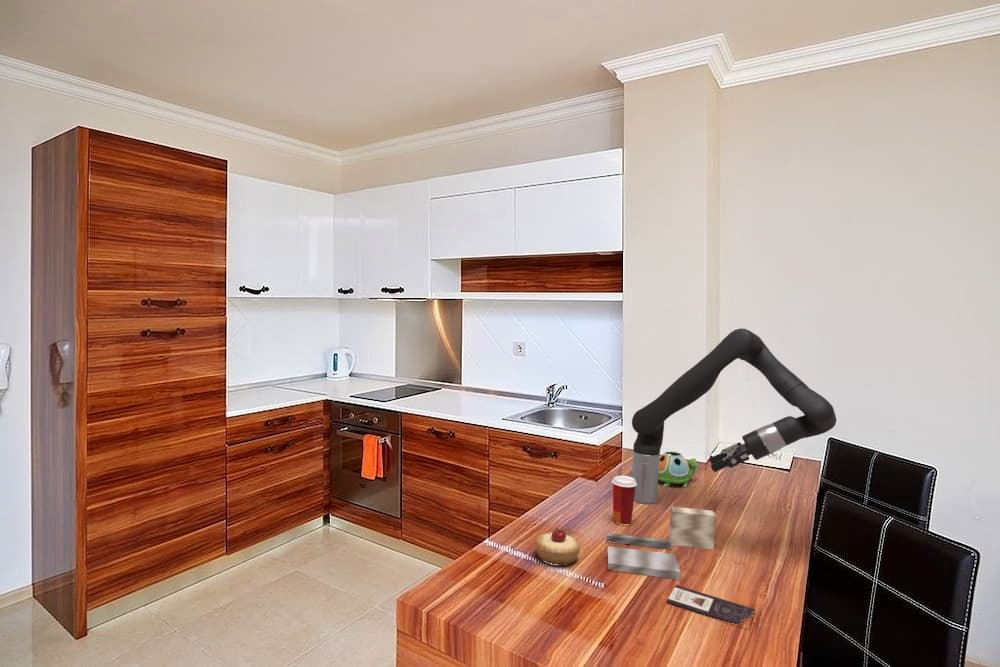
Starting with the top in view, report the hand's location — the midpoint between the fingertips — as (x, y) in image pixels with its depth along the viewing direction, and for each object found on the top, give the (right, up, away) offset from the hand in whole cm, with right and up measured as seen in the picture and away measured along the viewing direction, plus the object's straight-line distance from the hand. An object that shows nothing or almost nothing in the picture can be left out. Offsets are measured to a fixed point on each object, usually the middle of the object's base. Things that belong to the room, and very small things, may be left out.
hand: (711, 465), depth 161 cm
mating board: (-24, -23, -10) cm, 34 cm away
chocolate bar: (-13, -26, -33) cm, 44 cm away
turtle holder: (+7, -20, +55) cm, 59 cm away
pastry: (-47, -23, -12) cm, 53 cm away
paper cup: (-23, -22, +14) cm, 35 cm away
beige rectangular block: (-6, -23, 0) cm, 24 cm away
